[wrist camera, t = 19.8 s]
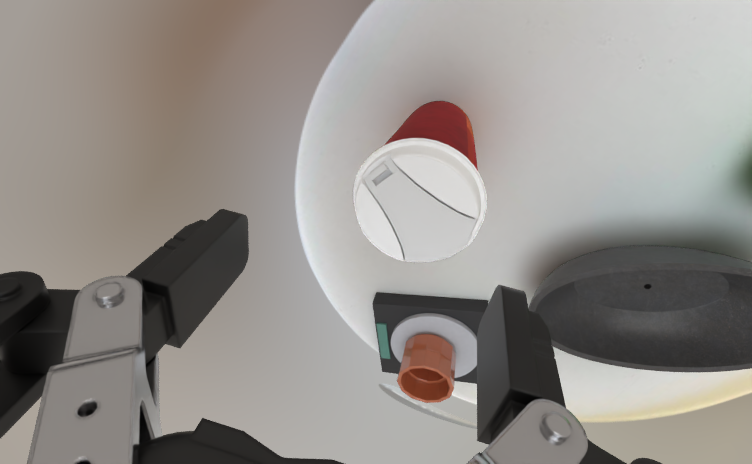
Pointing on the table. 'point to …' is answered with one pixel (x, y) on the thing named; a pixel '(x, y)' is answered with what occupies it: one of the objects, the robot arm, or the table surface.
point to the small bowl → (427, 368)
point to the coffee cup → (423, 187)
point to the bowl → (651, 309)
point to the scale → (428, 328)
